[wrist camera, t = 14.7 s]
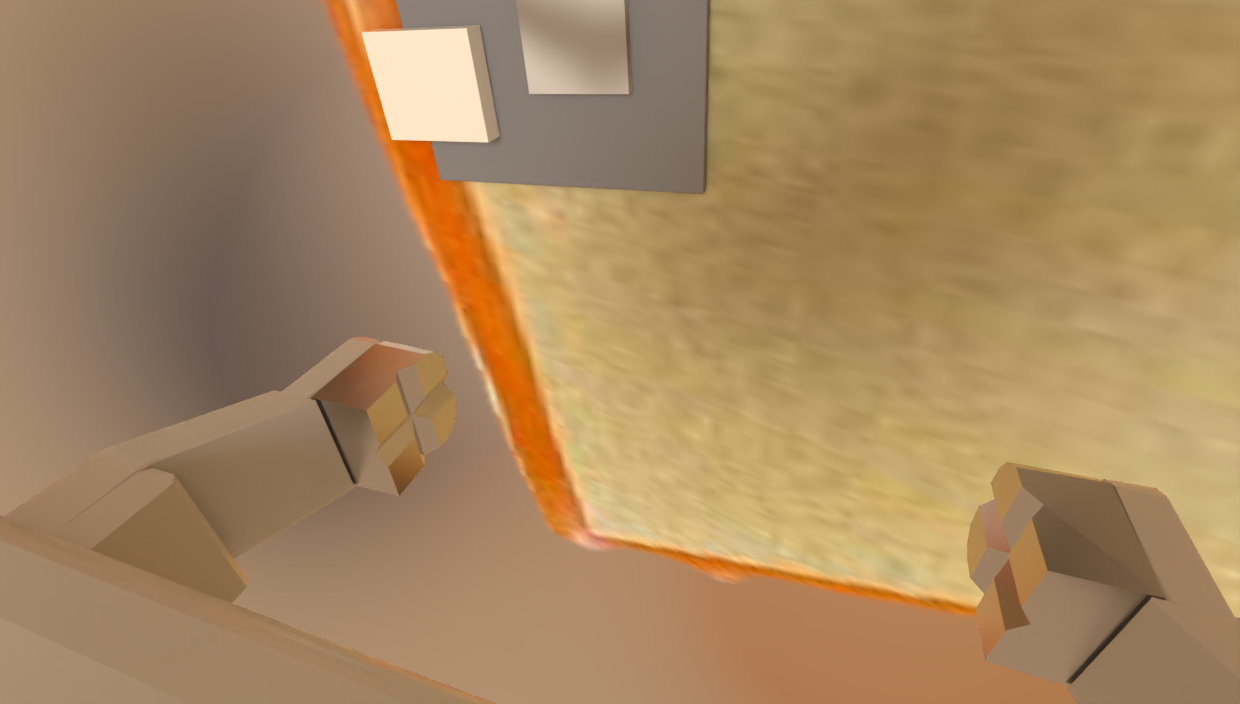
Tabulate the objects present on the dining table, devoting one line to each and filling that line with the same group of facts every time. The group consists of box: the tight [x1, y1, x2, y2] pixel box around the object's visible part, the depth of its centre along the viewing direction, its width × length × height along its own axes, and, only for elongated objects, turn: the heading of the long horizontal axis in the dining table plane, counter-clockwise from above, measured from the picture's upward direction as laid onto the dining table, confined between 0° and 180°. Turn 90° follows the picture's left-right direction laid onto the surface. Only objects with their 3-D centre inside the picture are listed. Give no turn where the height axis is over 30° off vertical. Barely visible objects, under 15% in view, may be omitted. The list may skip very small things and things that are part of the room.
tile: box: [361, 25, 500, 143], centre depth 34 cm, size 6×2×7 cm
